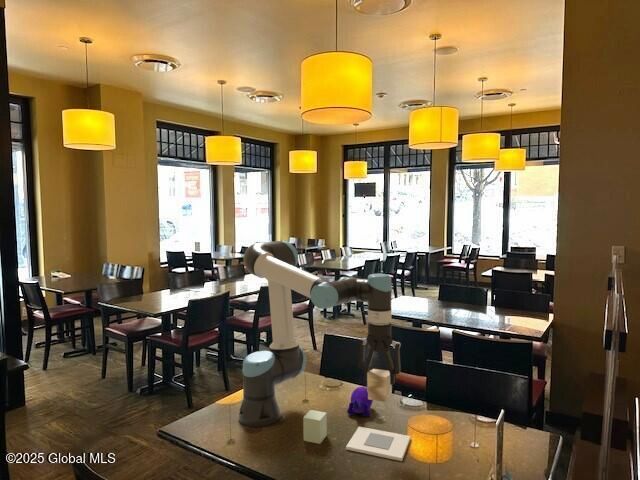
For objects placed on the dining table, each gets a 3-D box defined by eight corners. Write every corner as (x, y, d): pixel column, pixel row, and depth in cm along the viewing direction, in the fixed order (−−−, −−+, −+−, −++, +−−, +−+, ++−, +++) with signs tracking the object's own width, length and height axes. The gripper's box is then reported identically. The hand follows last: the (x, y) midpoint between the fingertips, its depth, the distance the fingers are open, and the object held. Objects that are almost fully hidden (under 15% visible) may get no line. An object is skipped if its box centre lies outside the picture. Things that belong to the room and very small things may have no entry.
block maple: (367, 399, 142) (367, 374, 141) (372, 392, 147) (372, 368, 147) (386, 402, 139) (386, 377, 139) (390, 394, 145) (390, 371, 144)
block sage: (303, 440, 147) (303, 417, 147) (310, 432, 153) (310, 409, 152) (320, 444, 145) (320, 420, 144) (326, 435, 150) (326, 412, 150)
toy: (368, 426, 159) (375, 404, 173) (367, 401, 157) (374, 381, 172) (344, 422, 162) (353, 401, 176) (343, 398, 160) (353, 378, 174)
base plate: (346, 449, 142) (346, 445, 141) (358, 429, 154) (358, 425, 154) (401, 461, 135) (401, 457, 135) (410, 439, 148) (410, 435, 148)
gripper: (347, 322, 142) (348, 392, 143) (406, 327, 135) (406, 401, 136) (354, 317, 149) (355, 383, 150) (411, 322, 142) (410, 392, 143)
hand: (379, 392), depth 143 cm, fingers closed on block maple, 6 cm apart
